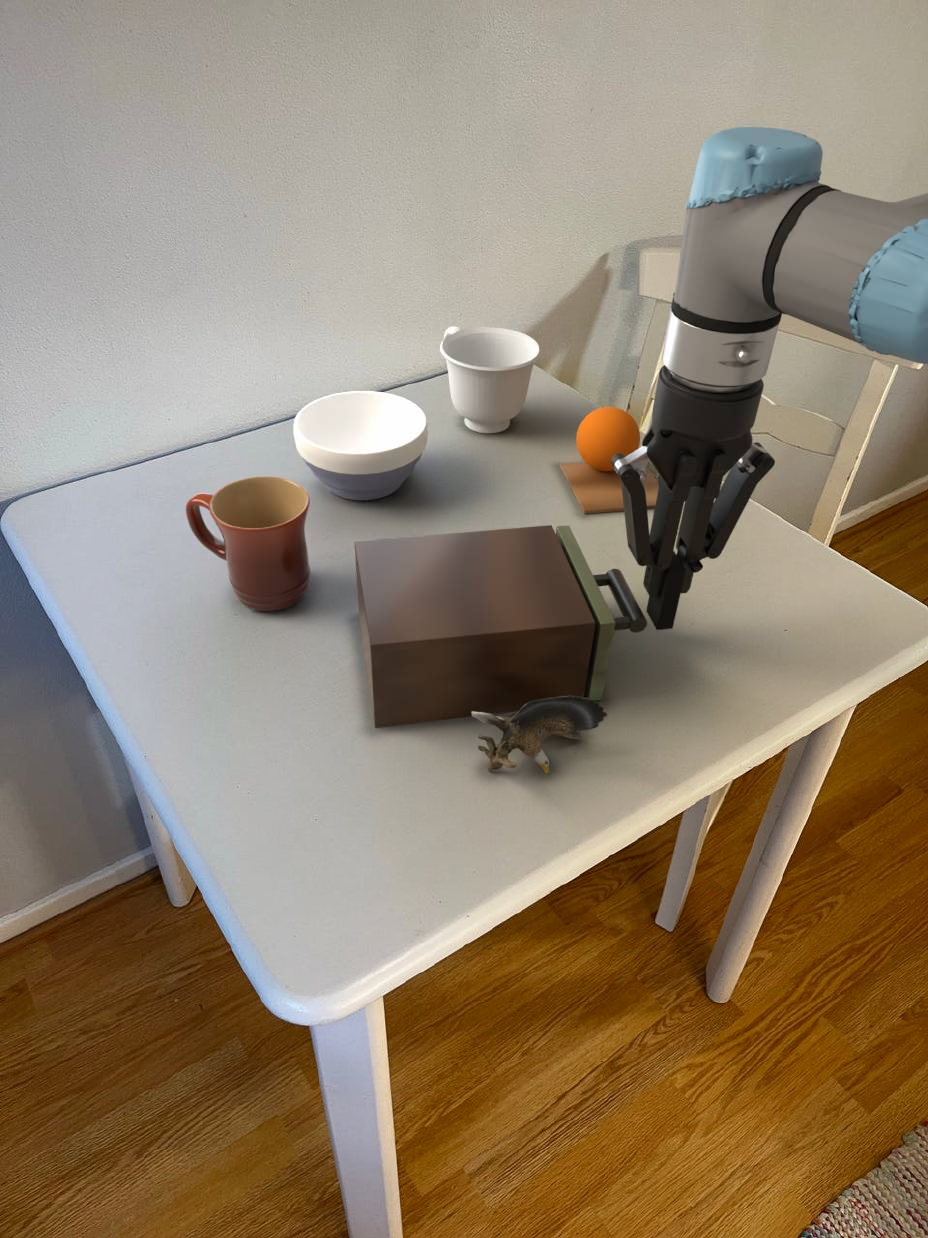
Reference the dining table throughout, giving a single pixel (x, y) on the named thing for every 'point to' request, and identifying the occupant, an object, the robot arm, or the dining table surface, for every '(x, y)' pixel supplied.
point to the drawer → (601, 609)
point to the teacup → (488, 374)
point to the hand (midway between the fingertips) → (659, 619)
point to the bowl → (361, 442)
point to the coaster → (603, 488)
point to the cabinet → (470, 623)
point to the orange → (606, 437)
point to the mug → (258, 538)
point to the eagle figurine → (539, 727)
